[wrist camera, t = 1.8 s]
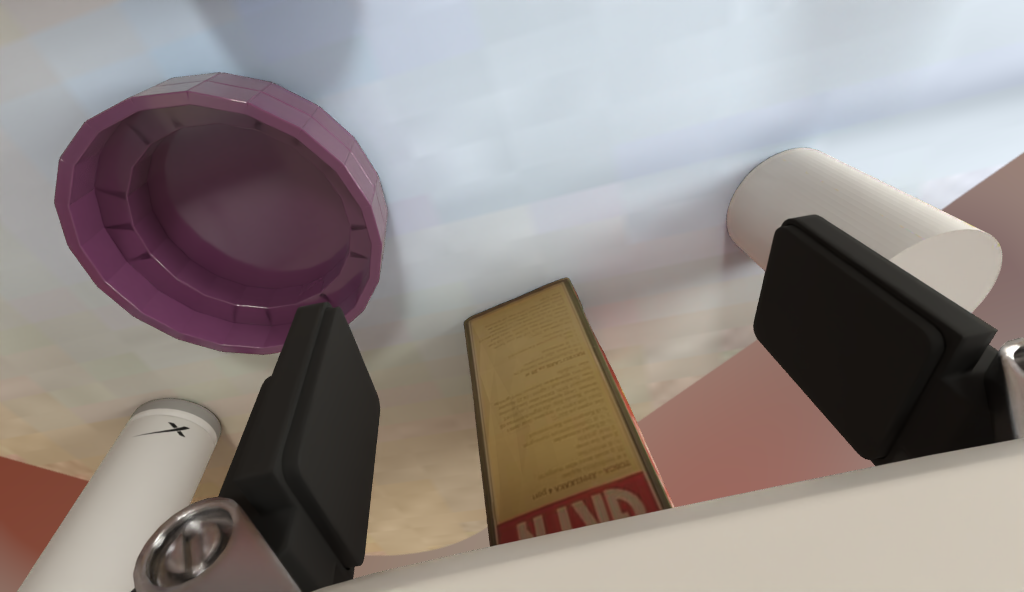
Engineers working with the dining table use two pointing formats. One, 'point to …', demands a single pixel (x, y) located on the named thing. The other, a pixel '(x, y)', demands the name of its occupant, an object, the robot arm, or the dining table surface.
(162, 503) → the travel mug
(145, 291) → the bowl
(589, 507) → the food packaging
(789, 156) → the white cylinder
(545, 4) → the dining table surface
